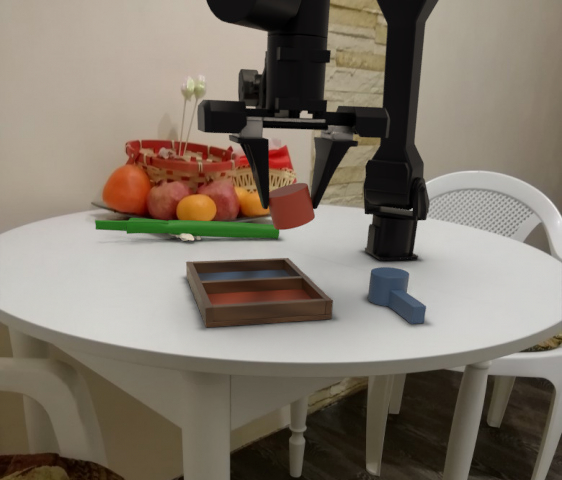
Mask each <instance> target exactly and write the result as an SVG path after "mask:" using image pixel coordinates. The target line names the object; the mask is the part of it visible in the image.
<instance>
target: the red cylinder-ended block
mask: <svg viewBox="0 0 562 480" xmlns="http://www.w3.org/2000/svg"><path fill="white" fill-rule="evenodd" d="M268 210H269V214H270V217H271V221H272V224H273V225H274V228H275V229H278V230H279V231H284V230H285V231H286V230H292V229H295V228H296V229H297V228H299V227H302V226H305V225H307V224H308V223H310V222H312V221H313V220H314V219H315V217H316V214H315V209H313V206H312V201H311V191H310V189H309V184H308V183H306V182H296V183H291V184H287V185H284V186H280V187H278V188H275V189H273V190H271V191H269V203H268Z"/></svg>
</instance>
